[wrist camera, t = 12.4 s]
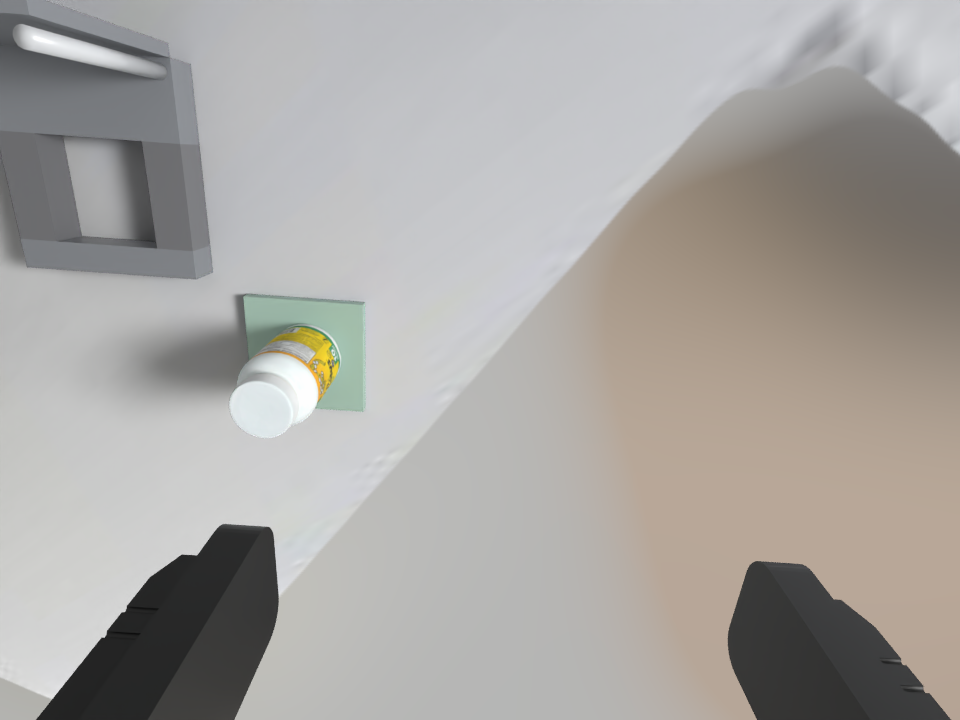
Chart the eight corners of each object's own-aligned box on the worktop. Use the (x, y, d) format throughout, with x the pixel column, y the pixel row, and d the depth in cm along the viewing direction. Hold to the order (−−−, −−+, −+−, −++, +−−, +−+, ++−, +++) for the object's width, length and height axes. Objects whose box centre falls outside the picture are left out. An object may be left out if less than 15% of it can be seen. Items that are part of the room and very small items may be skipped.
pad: (247, 293, 41) (243, 296, 41) (364, 302, 42) (362, 305, 41) (256, 399, 45) (252, 404, 44) (365, 407, 45) (363, 411, 44)
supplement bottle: (285, 311, 41) (229, 356, 32) (352, 339, 42) (315, 390, 33) (266, 371, 43) (207, 429, 34) (330, 396, 44) (289, 459, 35)
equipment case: (5, 36, 35) (-261, -30, 23) (189, 50, 36) (25, -8, 23) (53, 260, 41) (-142, 308, 28) (212, 272, 41) (90, 324, 28)
